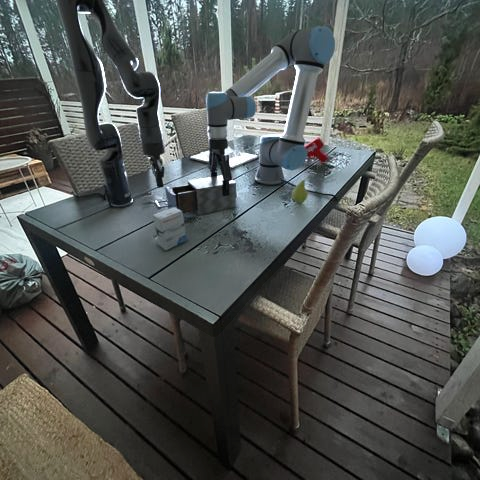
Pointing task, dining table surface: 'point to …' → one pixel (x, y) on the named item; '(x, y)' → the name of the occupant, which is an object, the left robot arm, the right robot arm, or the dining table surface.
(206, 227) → the dining table surface
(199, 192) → the white box dark end
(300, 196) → the fruit
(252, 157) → the relief map
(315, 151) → the toy gun
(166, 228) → the ink box
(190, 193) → the drawer
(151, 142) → the left robot arm
